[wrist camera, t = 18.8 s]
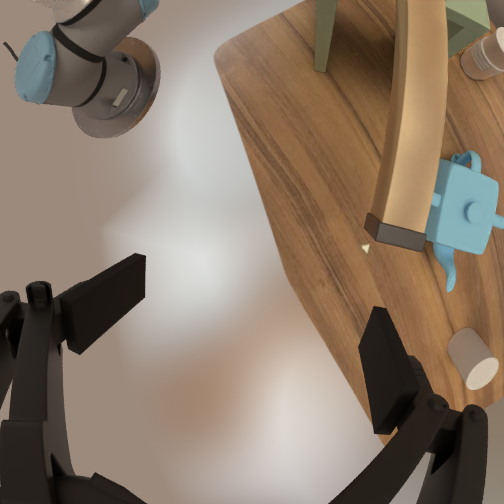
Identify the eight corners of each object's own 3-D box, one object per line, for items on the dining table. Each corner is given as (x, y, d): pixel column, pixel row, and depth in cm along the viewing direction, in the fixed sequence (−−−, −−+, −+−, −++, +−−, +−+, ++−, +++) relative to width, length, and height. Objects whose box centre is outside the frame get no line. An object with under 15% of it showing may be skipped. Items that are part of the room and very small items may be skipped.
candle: (457, 73, 37) (497, 52, 22) (458, 45, 34) (494, 19, 20) (484, 88, 36) (527, 73, 22) (485, 60, 34) (524, 40, 19)
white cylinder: (470, 355, 51) (490, 385, 40) (443, 359, 53) (461, 392, 42) (479, 325, 49) (503, 354, 38) (451, 329, 51) (473, 360, 39)
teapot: (385, 177, 46) (411, 181, 33) (455, 141, 41) (494, 138, 28) (422, 266, 49) (450, 296, 36) (485, 229, 44) (523, 248, 31)
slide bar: (363, 228, 20) (374, 241, 17) (392, -29, 13) (401, -52, 9) (405, 238, 20) (422, 252, 16) (428, -15, 13) (442, -36, 9)
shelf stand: (313, 70, 43) (316, -40, 13) (321, 17, 39) (324, -103, 9) (402, 92, 41) (498, 24, 11) (405, 38, 37) (478, -53, 7)
